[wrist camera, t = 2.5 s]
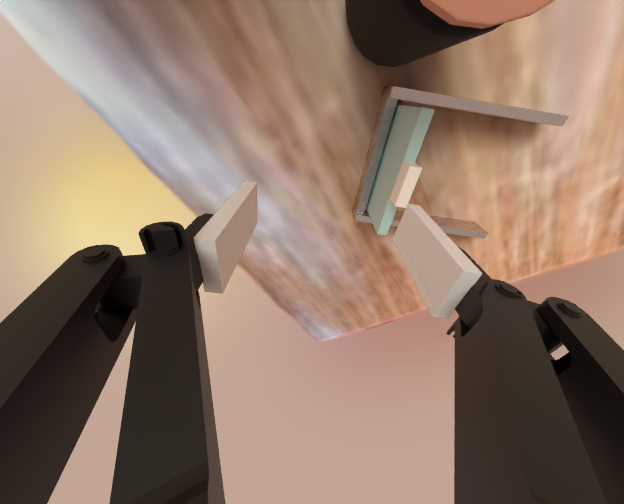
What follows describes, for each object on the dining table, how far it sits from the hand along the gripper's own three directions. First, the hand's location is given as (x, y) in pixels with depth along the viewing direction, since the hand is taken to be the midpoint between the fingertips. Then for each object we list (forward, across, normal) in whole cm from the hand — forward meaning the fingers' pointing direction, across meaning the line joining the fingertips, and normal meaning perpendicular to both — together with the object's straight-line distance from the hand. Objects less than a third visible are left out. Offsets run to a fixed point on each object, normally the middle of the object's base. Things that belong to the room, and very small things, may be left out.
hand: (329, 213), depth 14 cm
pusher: (+19, +8, 0) cm, 21 cm away
